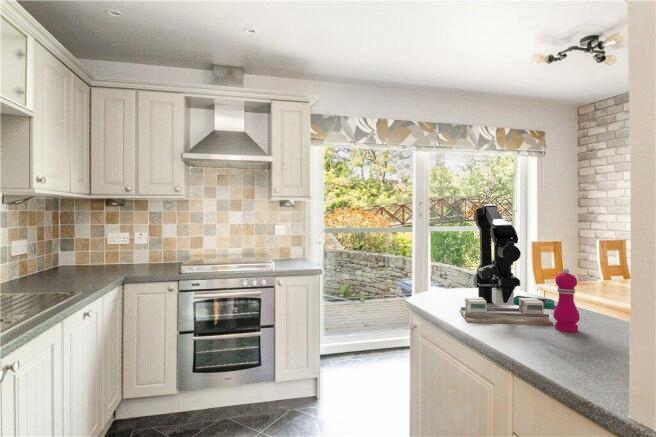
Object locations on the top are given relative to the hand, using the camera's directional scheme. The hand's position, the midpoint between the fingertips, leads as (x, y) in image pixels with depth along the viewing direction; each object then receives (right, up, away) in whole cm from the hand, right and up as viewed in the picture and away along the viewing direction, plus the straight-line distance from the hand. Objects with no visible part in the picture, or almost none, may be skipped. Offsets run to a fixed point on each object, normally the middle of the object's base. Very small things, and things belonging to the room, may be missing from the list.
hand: (502, 300), depth 135 cm
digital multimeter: (+21, -6, +18) cm, 28 cm away
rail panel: (0, -6, 0) cm, 6 cm away
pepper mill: (+14, -6, -14) cm, 21 cm away
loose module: (0, -1, 0) cm, 1 cm away
